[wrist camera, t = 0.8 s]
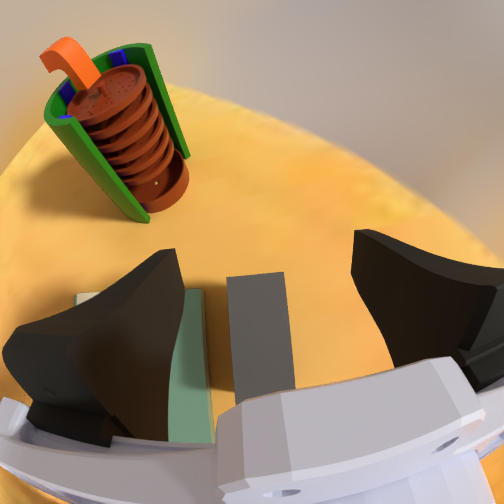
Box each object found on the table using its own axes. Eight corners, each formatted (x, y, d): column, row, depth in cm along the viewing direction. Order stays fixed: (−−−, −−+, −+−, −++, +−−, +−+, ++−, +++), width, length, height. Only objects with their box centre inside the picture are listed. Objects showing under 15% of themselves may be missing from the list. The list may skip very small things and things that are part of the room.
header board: (216, 449, 20) (205, 467, 16) (89, 433, 21) (64, 441, 17) (204, 289, 26) (190, 276, 22) (82, 296, 26) (57, 286, 22)
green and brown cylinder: (175, 226, 28) (70, 66, 10) (107, 219, 29) (-6, 101, 11) (199, 149, 32) (149, -4, 13) (136, 150, 33) (66, 26, 14)
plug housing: (290, 389, 22) (296, 401, 16) (244, 393, 22) (235, 406, 17) (281, 290, 25) (283, 271, 20) (236, 294, 25) (226, 277, 20)
